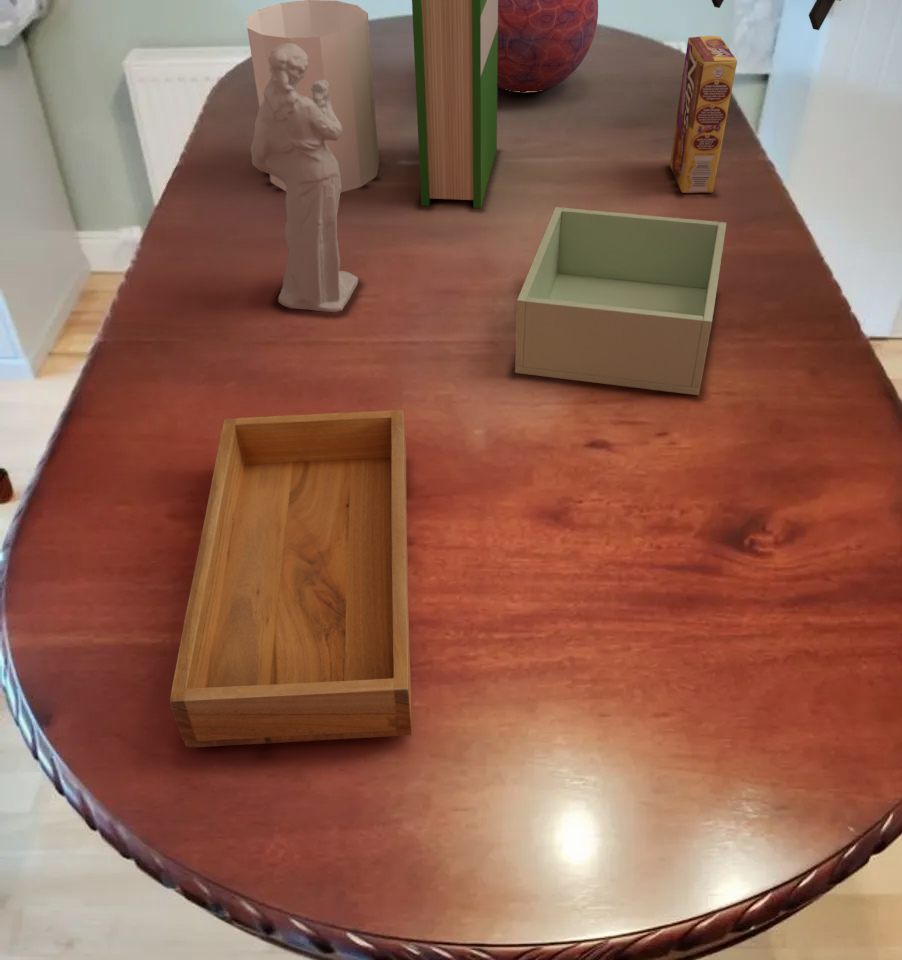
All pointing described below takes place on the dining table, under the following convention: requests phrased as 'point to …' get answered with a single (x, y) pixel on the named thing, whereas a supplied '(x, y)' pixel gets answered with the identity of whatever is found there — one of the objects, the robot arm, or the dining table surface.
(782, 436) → the dining table surface
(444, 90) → the hardback book
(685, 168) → the candy box
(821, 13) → the robot arm
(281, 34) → the container
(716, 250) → the bin
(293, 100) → the figurine
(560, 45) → the decorative sphere
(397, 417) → the tray
